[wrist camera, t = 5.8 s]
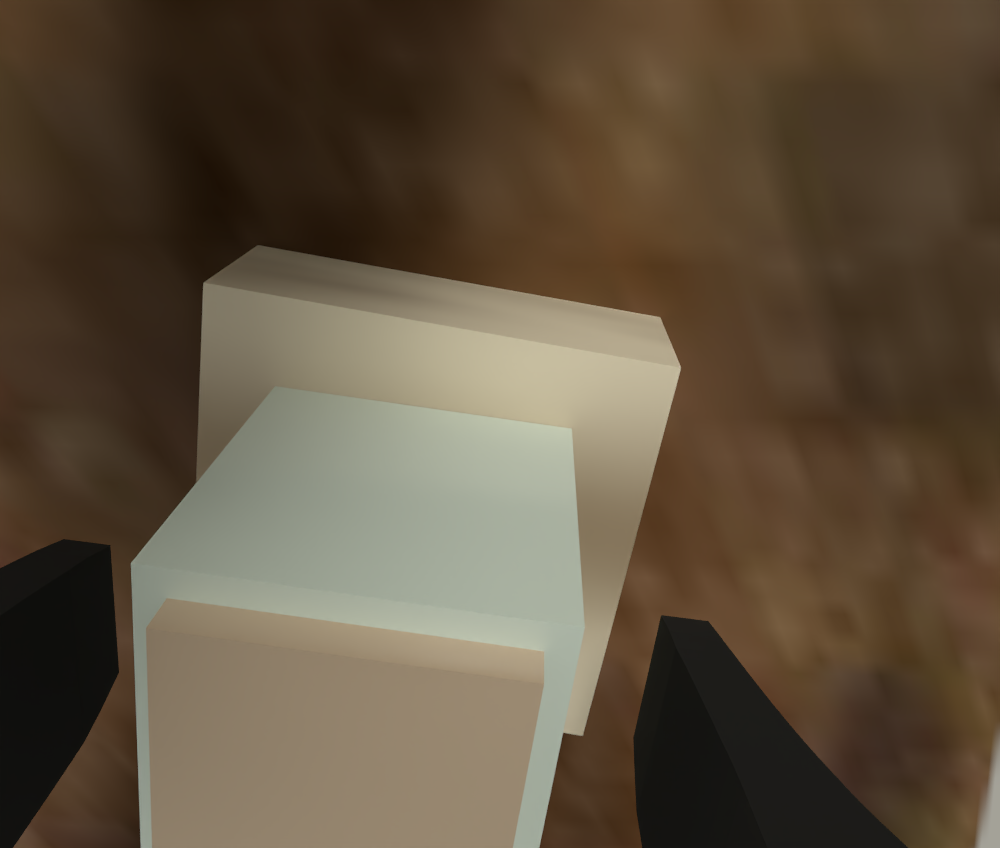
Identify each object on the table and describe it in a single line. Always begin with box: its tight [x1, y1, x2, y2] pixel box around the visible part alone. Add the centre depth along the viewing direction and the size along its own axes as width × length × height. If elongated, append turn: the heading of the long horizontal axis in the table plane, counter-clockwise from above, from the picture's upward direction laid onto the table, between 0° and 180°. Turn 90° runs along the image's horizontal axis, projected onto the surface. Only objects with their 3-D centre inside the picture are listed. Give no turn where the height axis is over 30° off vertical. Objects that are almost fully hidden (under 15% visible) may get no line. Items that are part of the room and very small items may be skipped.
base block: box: [196, 245, 681, 736], centre depth 16 cm, size 7×7×3 cm
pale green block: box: [131, 386, 585, 848], centre depth 12 cm, size 4×4×6 cm
